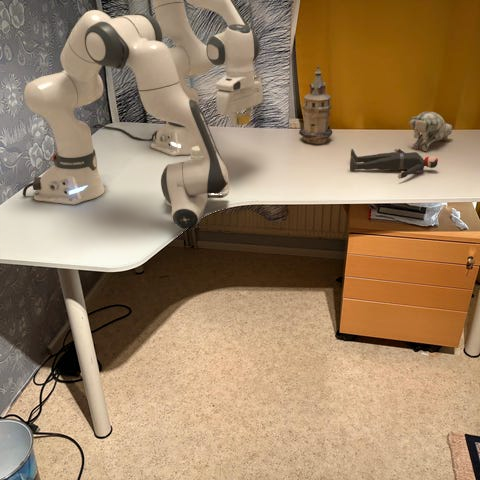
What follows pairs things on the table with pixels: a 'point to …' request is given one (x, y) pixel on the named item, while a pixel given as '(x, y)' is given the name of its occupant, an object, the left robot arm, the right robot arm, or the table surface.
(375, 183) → the table surface
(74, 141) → the left robot arm
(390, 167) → the toy
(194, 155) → the jar
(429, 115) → the figurine
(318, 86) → the miniature building
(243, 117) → the lid
